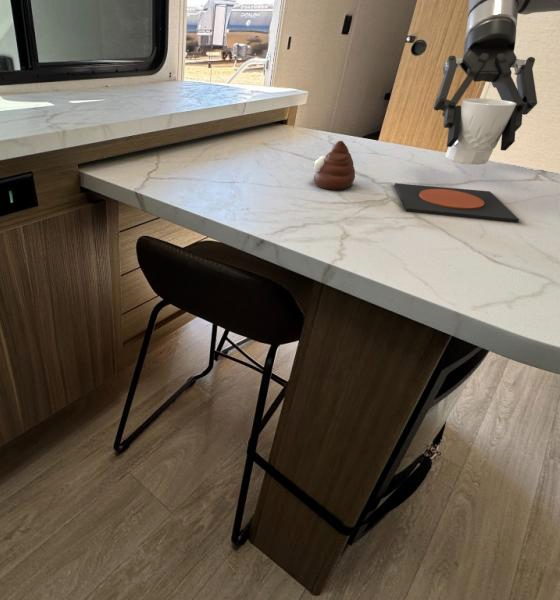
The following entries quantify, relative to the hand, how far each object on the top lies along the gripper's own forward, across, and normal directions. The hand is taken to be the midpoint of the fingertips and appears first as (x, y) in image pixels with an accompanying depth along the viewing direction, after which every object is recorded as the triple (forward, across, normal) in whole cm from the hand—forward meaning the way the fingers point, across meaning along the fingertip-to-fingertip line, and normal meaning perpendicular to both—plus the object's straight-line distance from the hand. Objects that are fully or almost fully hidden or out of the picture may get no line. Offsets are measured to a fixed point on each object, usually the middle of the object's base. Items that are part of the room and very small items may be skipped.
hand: (479, 144), depth 73 cm
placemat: (+6, 0, -11) cm, 12 cm away
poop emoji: (+3, +22, -14) cm, 26 cm away
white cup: (0, 0, -5) cm, 5 cm away
